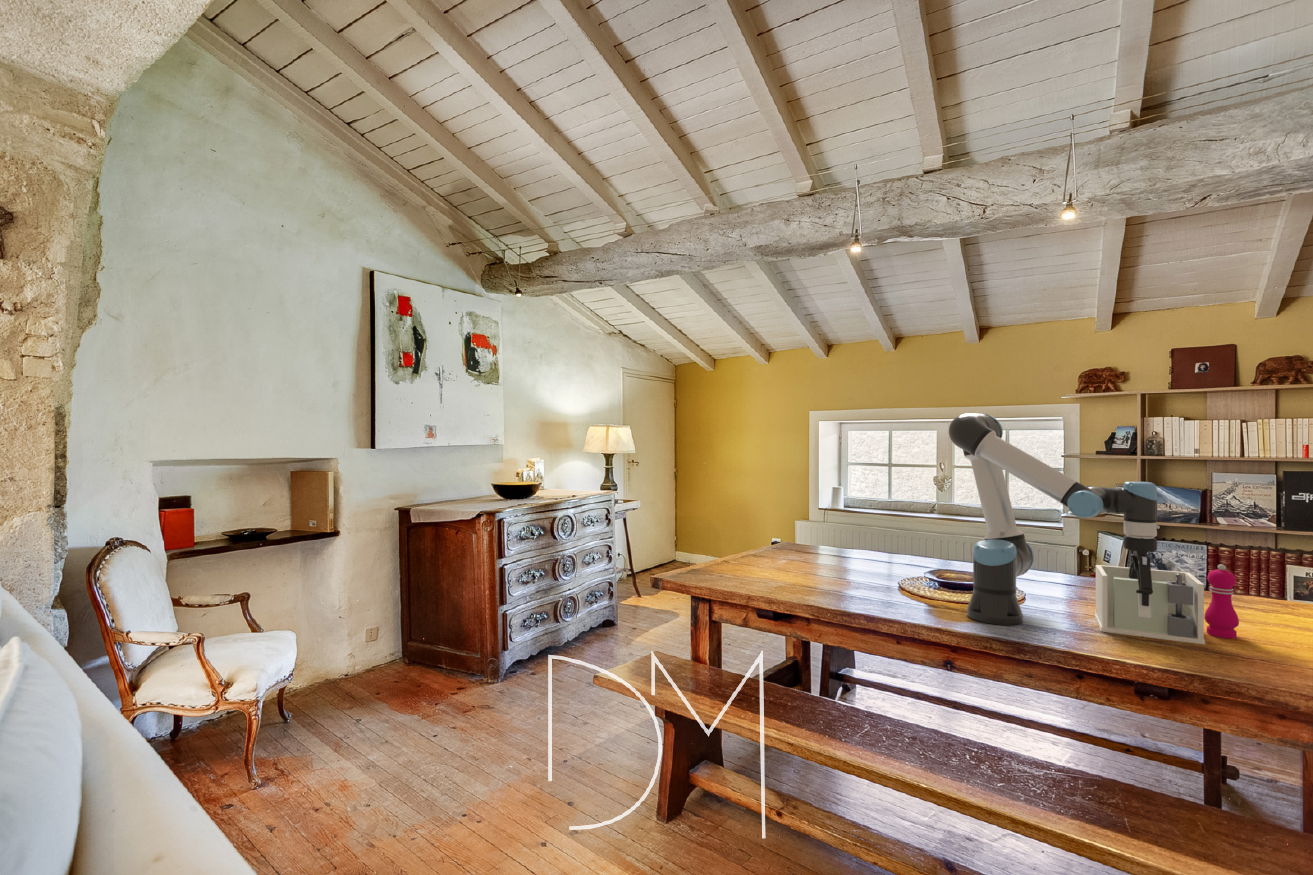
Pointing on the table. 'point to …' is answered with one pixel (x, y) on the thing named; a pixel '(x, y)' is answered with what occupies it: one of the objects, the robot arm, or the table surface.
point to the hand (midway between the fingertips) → (1140, 610)
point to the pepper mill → (1221, 604)
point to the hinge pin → (1179, 606)
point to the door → (1152, 607)
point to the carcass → (1194, 611)
